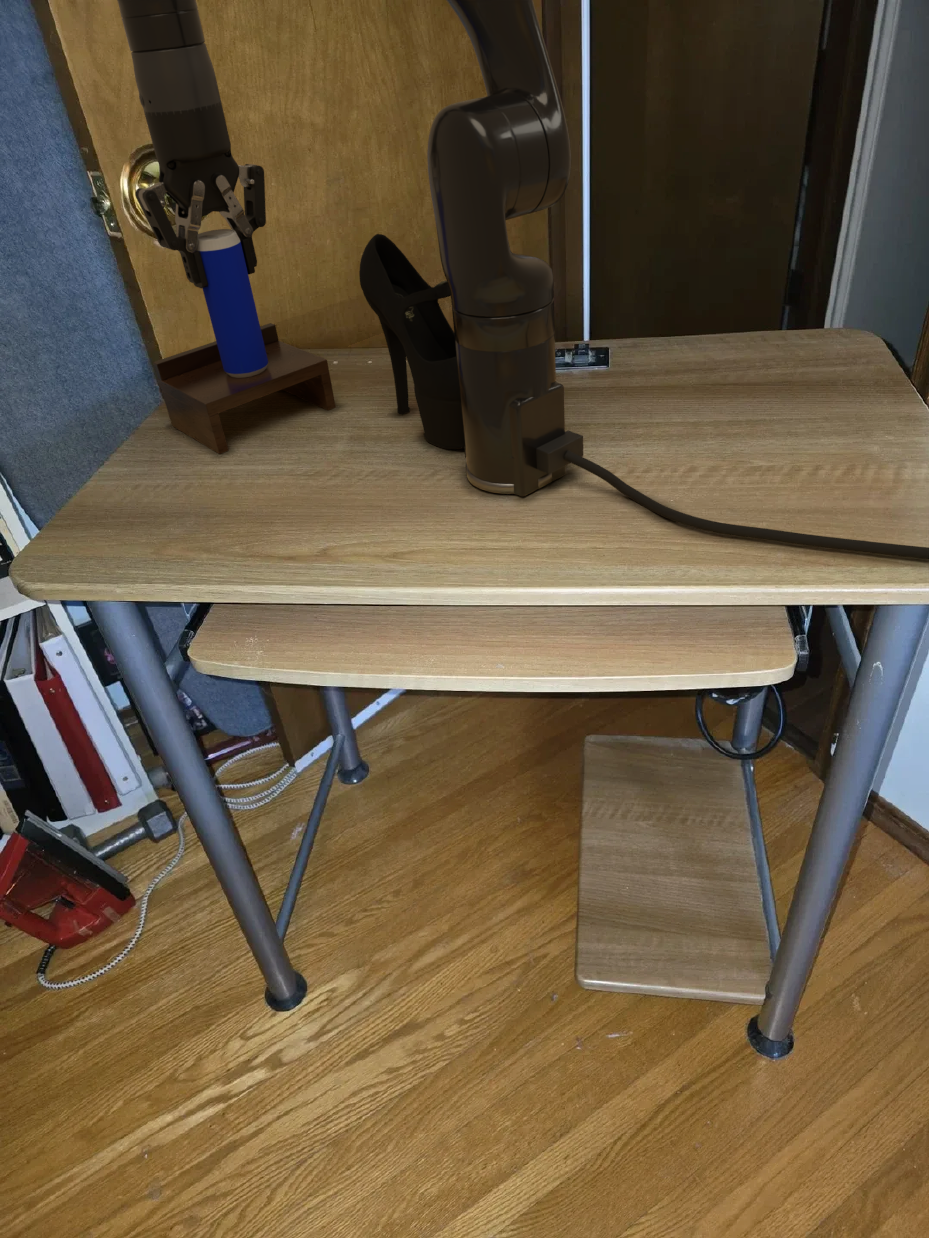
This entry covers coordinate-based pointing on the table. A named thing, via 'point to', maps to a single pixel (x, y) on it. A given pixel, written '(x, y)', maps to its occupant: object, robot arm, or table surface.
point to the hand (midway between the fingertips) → (225, 279)
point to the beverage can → (231, 304)
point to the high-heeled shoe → (415, 339)
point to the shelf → (236, 385)
